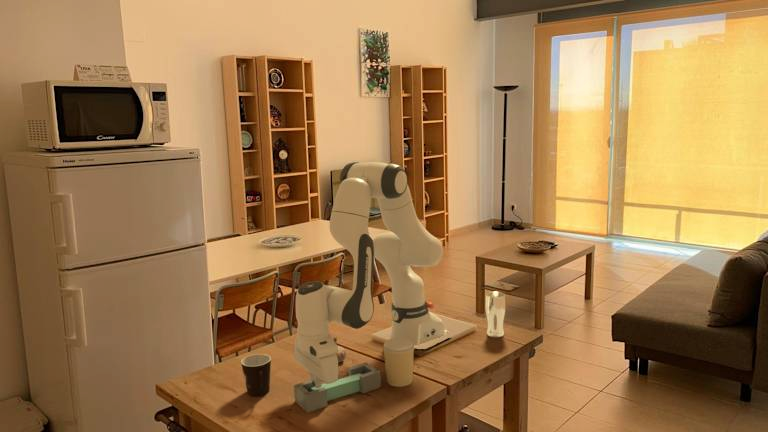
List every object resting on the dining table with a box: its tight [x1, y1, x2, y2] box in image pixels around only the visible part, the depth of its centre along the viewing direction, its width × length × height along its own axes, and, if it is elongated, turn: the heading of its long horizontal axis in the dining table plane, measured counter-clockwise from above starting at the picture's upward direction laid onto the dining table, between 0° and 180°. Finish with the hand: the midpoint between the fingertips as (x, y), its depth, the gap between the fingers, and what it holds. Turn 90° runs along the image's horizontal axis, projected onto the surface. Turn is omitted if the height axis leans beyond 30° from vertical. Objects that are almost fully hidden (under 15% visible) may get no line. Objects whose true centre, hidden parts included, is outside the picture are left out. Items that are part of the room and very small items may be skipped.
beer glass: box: [485, 291, 506, 338], centre depth 209 cm, size 7×7×15 cm
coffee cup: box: [382, 338, 415, 387], centre depth 177 cm, size 9×9×12 cm
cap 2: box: [347, 361, 382, 394], centre depth 175 cm, size 6×8×5 cm
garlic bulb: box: [332, 336, 347, 364], centre depth 193 cm, size 8×7×8 cm
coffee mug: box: [240, 353, 272, 398], centre depth 172 cm, size 12×9×10 cm
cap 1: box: [293, 379, 328, 414], centre depth 166 cm, size 6×8×5 cm
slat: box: [310, 373, 362, 402], centre depth 171 cm, size 16×3×4 cm, turn 120°
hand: (316, 386), depth 166 cm, fingers closed
